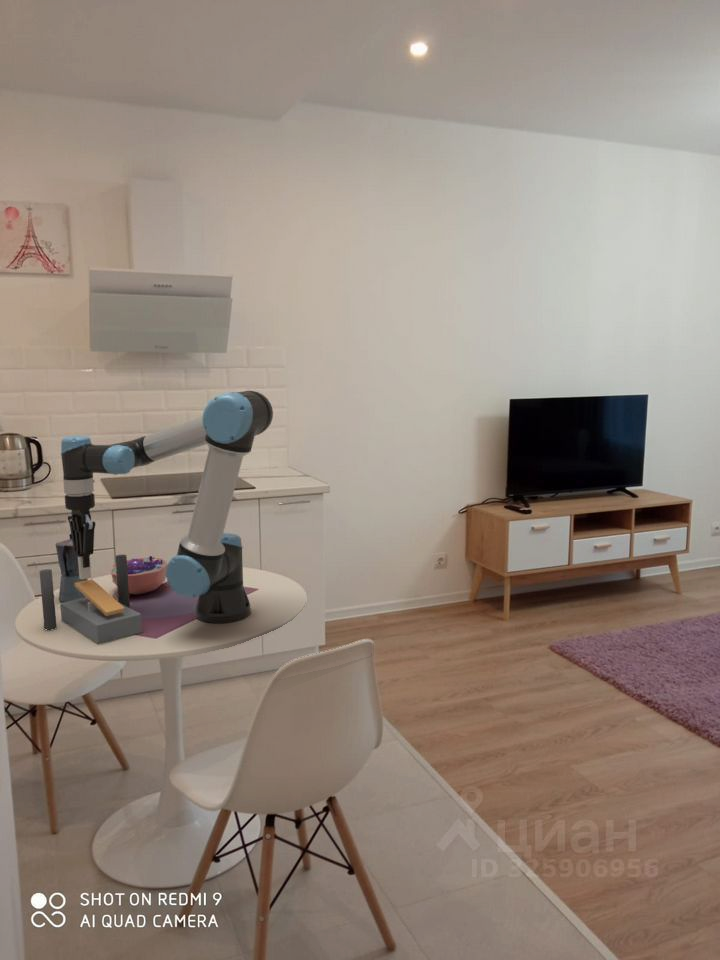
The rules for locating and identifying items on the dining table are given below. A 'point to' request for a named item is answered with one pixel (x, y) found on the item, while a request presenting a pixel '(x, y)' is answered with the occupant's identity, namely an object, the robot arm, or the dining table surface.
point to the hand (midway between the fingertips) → (85, 577)
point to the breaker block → (100, 621)
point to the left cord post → (48, 599)
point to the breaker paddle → (99, 597)
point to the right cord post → (122, 580)
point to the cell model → (143, 574)
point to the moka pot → (68, 571)
